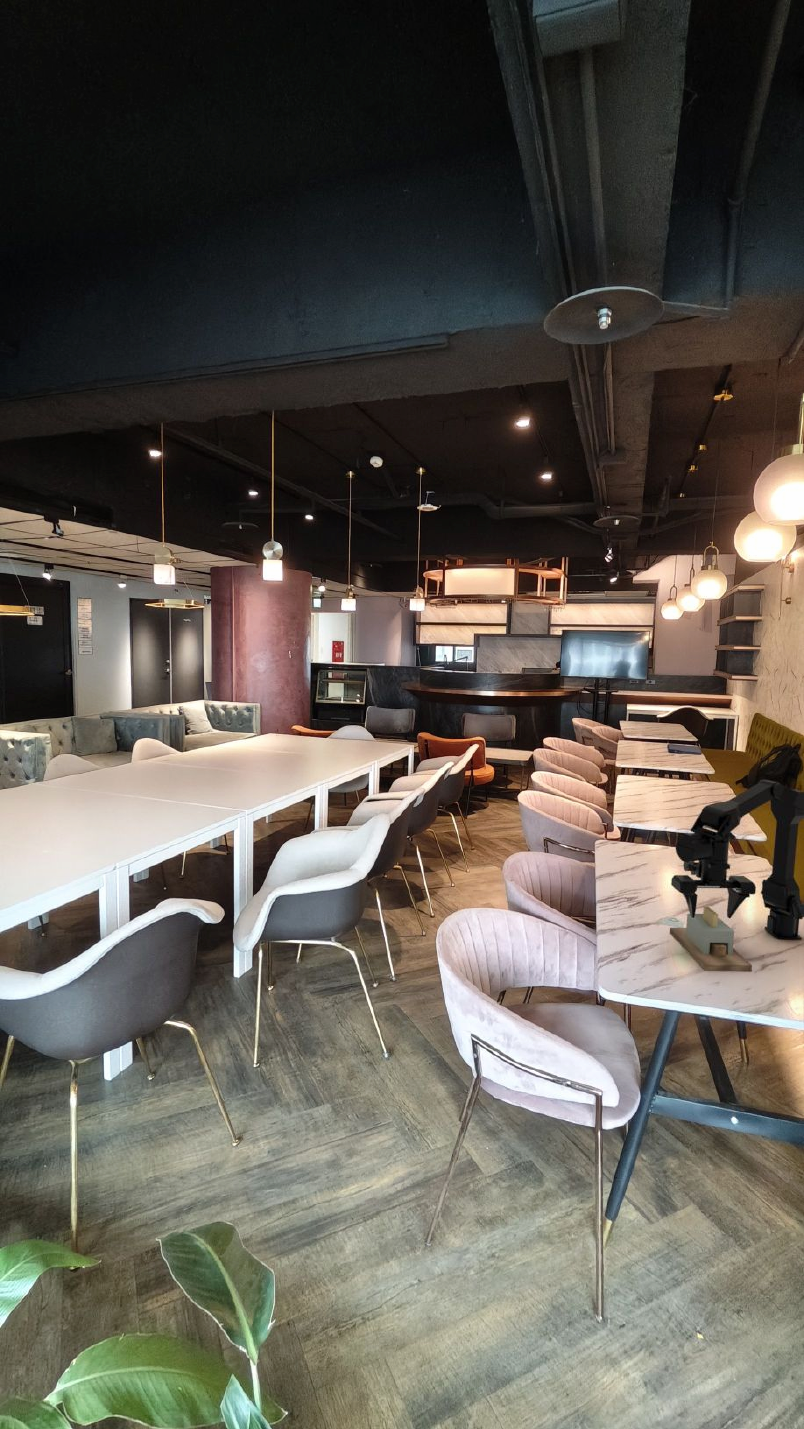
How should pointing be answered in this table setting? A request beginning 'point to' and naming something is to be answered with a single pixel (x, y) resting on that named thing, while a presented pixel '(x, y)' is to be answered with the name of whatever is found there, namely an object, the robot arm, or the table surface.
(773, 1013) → the table surface
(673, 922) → the mounting bracket
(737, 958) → the cleat board
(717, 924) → the cabinet block
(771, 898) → the robot arm
